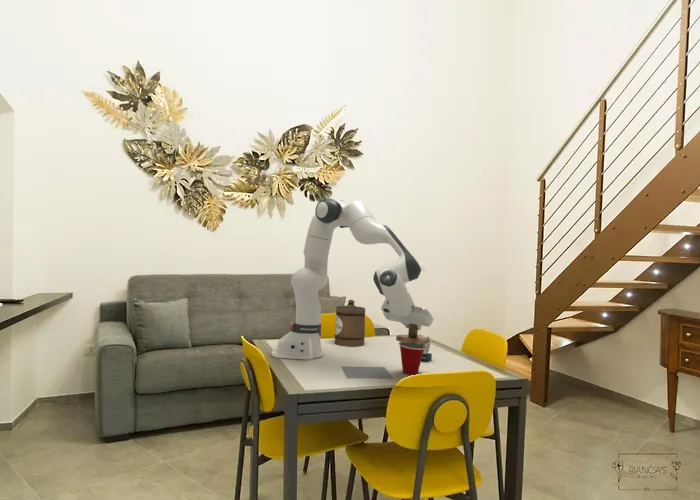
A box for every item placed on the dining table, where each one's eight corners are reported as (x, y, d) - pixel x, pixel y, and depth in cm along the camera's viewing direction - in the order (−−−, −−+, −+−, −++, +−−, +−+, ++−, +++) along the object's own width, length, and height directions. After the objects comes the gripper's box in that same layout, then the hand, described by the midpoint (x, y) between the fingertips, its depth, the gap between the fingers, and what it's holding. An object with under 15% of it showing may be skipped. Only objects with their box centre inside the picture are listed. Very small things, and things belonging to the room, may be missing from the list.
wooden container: (335, 340, 277) (337, 297, 277) (364, 341, 277) (366, 299, 276) (333, 345, 262) (335, 300, 262) (363, 347, 262) (366, 302, 261)
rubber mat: (346, 379, 202) (346, 378, 202) (341, 367, 220) (341, 366, 220) (393, 379, 204) (393, 378, 204) (384, 367, 222) (384, 367, 222)
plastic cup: (423, 378, 208) (425, 347, 208) (395, 375, 210) (397, 345, 210) (425, 372, 219) (426, 342, 218) (398, 369, 221) (400, 340, 220)
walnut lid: (400, 343, 207) (401, 322, 206) (392, 337, 219) (393, 317, 219) (433, 344, 209) (434, 323, 208) (423, 337, 222) (424, 318, 221)
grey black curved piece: (414, 360, 238) (415, 336, 238) (421, 357, 245) (422, 333, 244) (425, 363, 235) (427, 338, 235) (433, 359, 242) (434, 335, 241)
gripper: (429, 302, 202) (440, 325, 210) (384, 296, 214) (395, 318, 222) (422, 314, 198) (434, 338, 207) (377, 308, 211) (389, 330, 219)
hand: (414, 327), depth 215 cm, fingers closed on walnut lid, 3 cm apart
